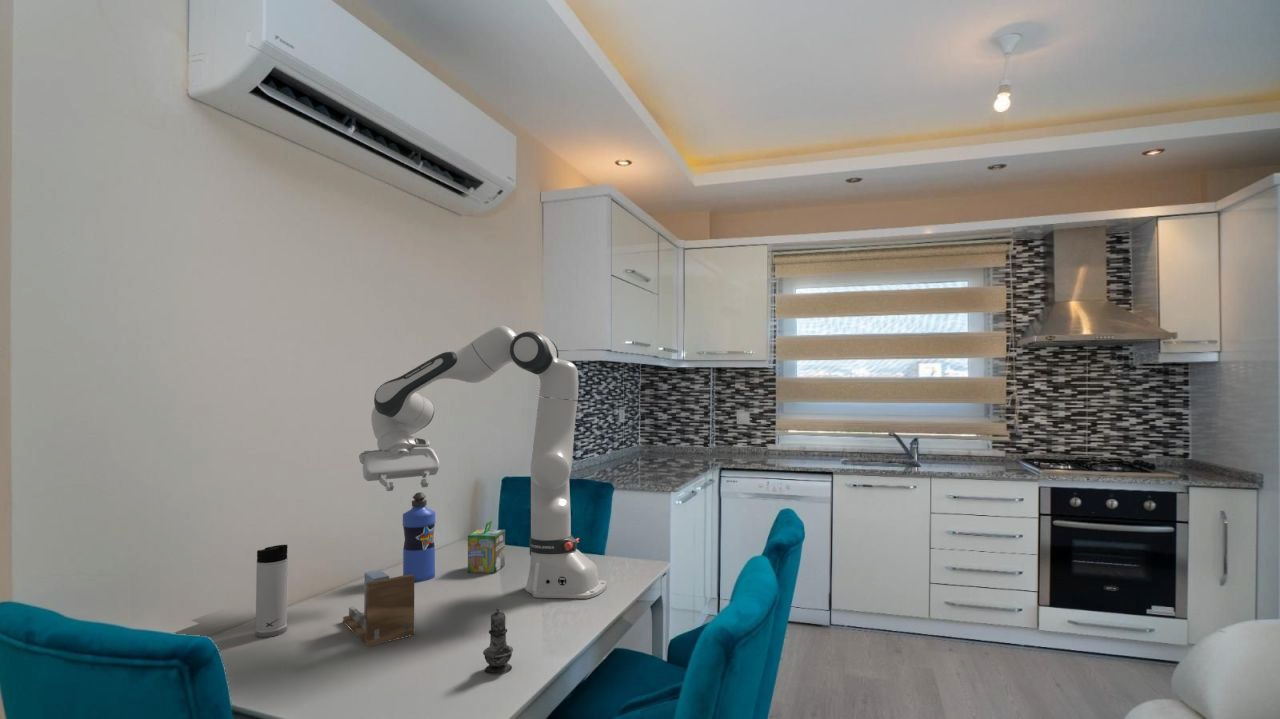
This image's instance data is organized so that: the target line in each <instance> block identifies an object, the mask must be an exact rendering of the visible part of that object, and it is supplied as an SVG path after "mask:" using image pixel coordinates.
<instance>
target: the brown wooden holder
mask: <svg viewBox="0 0 1280 719" xmlns="http://www.w3.org/2000/svg"><path fill="white" fill-rule="evenodd" d="M342 618H343V619H342V621H344V622H345V623H346V624H347V625H348V626H349V627H350V628H351V629H352V630H353V631H354V632H355V633H356V634H357V635H356V634H355V633H354V632H353V631H352V630H351V629H350V628H349V627H348V626H347V625H346V624H345V623H344V622H343V623H344V624H345V625H346V626H347V627H348V628H349V629H350V630H351V631H352V632H353V633H354V634H355V635H356V636H357V637H358V638H359V639H360V640H361V641H362V642H363V643H364V644H365V643H366V644H365V645H366V646H367V647H373V646H376V645H379V644H378V643H380V644H384V643H387V642H386V641H388V642H390V641H389V640H392V641H395V640H394V639H396V640H398V639H397V638H400V639H403V638H402V637H404V638H407V637H406V636H408V637H410V636H409V635H412V636H415V582H414V575H412V574H409V575H404V576H403V575H399V576H393V577H389V578H388V579H383V580H378V581H372V582H367V583H366V617H365V616H364V611H363V612H361V611H360V610H358V609H357V608H356V607H355V606H353V605H352V606H349V607H348V615H345V616H343V617H342ZM383 642H384V643H383ZM375 644H376V645H375Z"/></svg>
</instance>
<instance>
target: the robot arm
mask: <svg viewBox="0 0 1280 719" xmlns="http://www.w3.org/2000/svg"><path fill="white" fill-rule="evenodd" d="M509 363H514V364H515V365H516V366H517V367H518V368H521V369H523V370H524V371H527V372H528V373H529V372H530V373H532V374H534V375H537V376H538V379H539V386H540V387H539V394H538V400H537V401H538V402H537V411H536V417H535V418H536V419H535V427H534V436H533V444H532V454H531V461H530V537H529V556H530V560H529V562H530V563H529V571H528V577H527V580H526V584H525V590H526V592H528V593H530V594H531V595H532V597H533V598H538V599H539V598H540V599H541V598H545V599H548V598H549V599H581V600H582V599H590V598H593V597H596V596H598V595H600V594H602V593H603V592H604V591H605V590H606V589H607V586H608V585H607V582H606V580H602V579H599V578H600V577H599V572H598V567H597V565H596V563H595V562H593V560H591V559H590V558H588V557H587V556H586V555H585V554H583V553H582V552H581V551H580V550H579V549H577V548H578V543H580V541H579V540H580V538H579V537H577V538H575V537H574V536H573V535H572V534H571V531H572V530H571V525H572V524H571V523H572V522H571V519H572V518H571V495H570V494H571V492H570V491H571V489H570V476H571V473H572V467H573V466H572V464H573V456H574V455H573V453H574V441H575V440H574V439H575V427H576V418H577V408H578V401H579V370H578V368H577V366H576V364H574V363H573V362H571V361H568V360H565V359H560V358H559V349H558V348H557V345H556V344H555V343H554V342H553V341H552V340H551V339H549V338H548V337H547V336H545V335H544V334H541V333H538V332H536V331H528V330H527V331H524V332H521V333H519V334H517V333H516V332H515V331H514V330H513V329H512V328H510V327H508V326H506V325H498V326H496V327H493V328H491V329H489V330H488V331H486V332H484V333H482V334H481V335H480V336H478V337H477V338H475V339H474V340H472V341H471V342H470V343H468V344H466V345H465V346H463V347H461V348H459V349H455V350H453V351H445V352H442V353H440V354H437V355H436V356H434V357H432V358H430V359H428V360H426V361H425V362H423V363H421V364H419V365H418V366H416V367H414V368H413V369H411V370H409V371H407V372H406V373H404V374H402V375H401V376H398V377H395V378H393V379H391V380H387V381H386V382H384V383H383V384H381V385H380V386H379V387H378V388H377V389H376V391H375V393H374V397H373V398H374V399H373V402H374V407H373V409H372V411H371V426H372V427H371V428H372V431H373V435H374V437H375V438H376V440H377V442H376V443H377V449H374V450H364V451H363V452H361V453H359V456H358V459H359V462H360V464H362V475H363V479H364V480H366V481H367V482H372V481H373V482H374V481H378V482H379V484H381V486H383V487H385V489H386V492H392V491H394V489H395V487H394V482H393V481H389V480H395V479H404V478H405V479H407V478H415V477H422V479H421V481H420V486H421V488H428V487H429V485H430V483H429V481H428V479H429V476H436V475H437V474H438V472H439V470H440V467H441V463H440V460H439V458H438V456H437V454H436V452H435V450H434V449H433V448H431V447H430V445H431V443H430V440H428V439H427V438H420V437H416V436H412V435H413V434H415V433H417V432H419V431H421V430H422V429H425V428H426V427H427V426H428V425H429V424H430V423H431V422H432V420H433V418H434V414H435V405H434V404H433V402H432V401H431V400H429V399H428V398H426V397H425V396H424V395H422V394H420V393H418V391H421V390H422V389H424V388H425V387H427V386H429V385H431V384H432V383H434V382H436V381H439V380H442V379H445V380H446V379H450V380H458V381H462V382H465V383H471V384H473V383H474V384H475V383H481V382H483V381H486V380H487V379H489V378H490V377H492V376H493V375H495V374H496V373H497V372H498V371H500V369H502V368H503V367H504V366H506V365H507V364H509Z"/></svg>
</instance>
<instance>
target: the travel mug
mask: <svg viewBox="0 0 1280 719" xmlns="http://www.w3.org/2000/svg"><path fill="white" fill-rule="evenodd" d="M288 548H289V547H288V544H278V545H273V546H272V545H271V546H268V547H267V546H266V547H265V548H264V549H258V550H257V551H256V572H255V573H256V574H255V575H256V576H255V578H256V579H255V580H256V581H255V582H256V583H255V589H256V590H255V636H256V637H258V638H262V637H265V638H271V637H272V636H273V637H276V635H277V636H280V635H282V634H284V633H285V632H286V631H287V630H288V624H287V622H288V559H289V558H288ZM279 634H280V635H279Z"/></svg>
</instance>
